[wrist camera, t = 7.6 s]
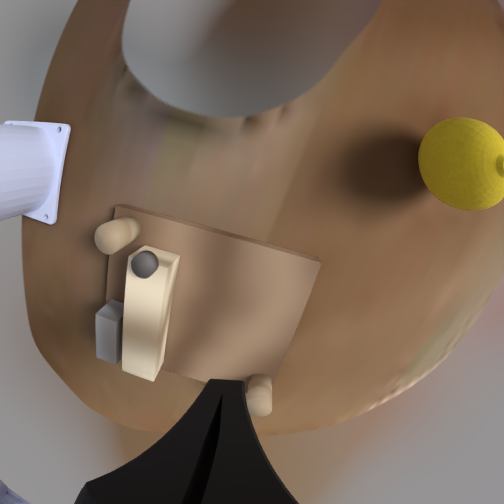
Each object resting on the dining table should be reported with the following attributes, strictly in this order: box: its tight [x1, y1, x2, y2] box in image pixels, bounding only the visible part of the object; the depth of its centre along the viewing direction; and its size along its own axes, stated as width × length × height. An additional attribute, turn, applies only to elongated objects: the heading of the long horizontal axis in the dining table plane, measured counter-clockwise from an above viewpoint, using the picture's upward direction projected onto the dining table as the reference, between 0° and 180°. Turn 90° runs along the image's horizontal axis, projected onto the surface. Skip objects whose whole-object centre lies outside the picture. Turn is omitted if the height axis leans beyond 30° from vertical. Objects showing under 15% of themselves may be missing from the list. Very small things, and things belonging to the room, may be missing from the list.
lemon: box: [418, 117, 504, 211], centre depth 13 cm, size 6×6×8 cm
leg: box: [122, 245, 180, 382], centre depth 17 cm, size 10×2×3 cm, turn 165°
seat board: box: [95, 204, 321, 417], centre depth 18 cm, size 14×12×4 cm
